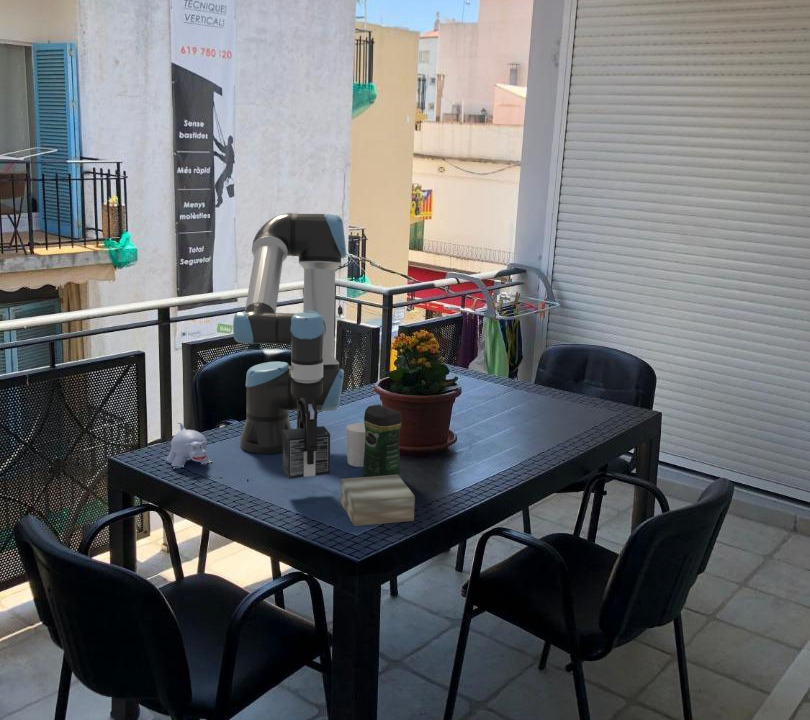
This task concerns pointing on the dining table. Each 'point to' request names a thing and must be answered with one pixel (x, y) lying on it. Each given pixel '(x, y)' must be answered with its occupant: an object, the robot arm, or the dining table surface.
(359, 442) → the white cup
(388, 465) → the coffee jar
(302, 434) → the small box
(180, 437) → the hippopotamus toy
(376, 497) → the plinth
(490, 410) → the dining table surface
